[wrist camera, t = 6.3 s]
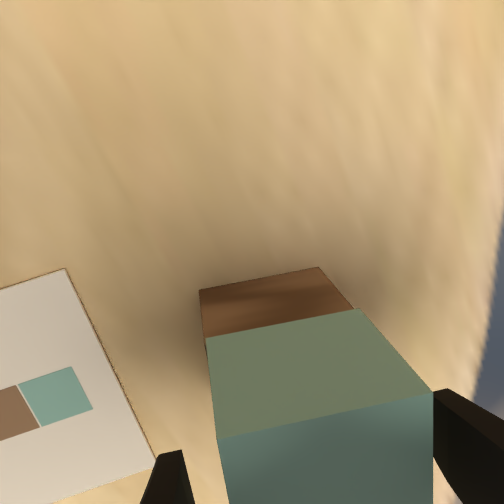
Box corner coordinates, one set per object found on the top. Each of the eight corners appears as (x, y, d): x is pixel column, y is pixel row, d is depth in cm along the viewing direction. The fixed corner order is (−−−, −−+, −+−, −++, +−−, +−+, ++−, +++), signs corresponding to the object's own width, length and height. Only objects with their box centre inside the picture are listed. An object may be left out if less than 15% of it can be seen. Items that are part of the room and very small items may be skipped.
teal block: (229, 463, 16) (248, 596, 11) (205, 338, 14) (216, 440, 10) (366, 432, 16) (432, 549, 12) (359, 308, 15) (432, 392, 10)
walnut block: (219, 391, 20) (229, 468, 16) (198, 289, 18) (204, 344, 14) (327, 367, 20) (366, 436, 16) (317, 266, 19) (357, 313, 15)
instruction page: (7, 516, 20) (6, 519, 20) (-118, 328, 17) (-121, 330, 17) (157, 463, 20) (157, 466, 20) (65, 268, 17) (63, 270, 17)
